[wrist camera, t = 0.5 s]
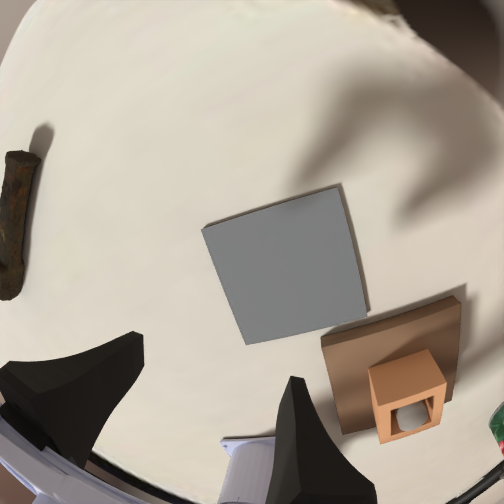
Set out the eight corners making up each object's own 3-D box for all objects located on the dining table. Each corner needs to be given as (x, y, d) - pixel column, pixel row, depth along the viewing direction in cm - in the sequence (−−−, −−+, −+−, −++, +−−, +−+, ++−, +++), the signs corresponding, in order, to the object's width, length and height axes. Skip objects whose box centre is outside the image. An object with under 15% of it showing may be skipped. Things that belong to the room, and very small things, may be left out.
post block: (446, 391, 21) (467, 433, 15) (341, 424, 24) (345, 473, 18) (452, 295, 19) (491, 334, 13) (320, 337, 22) (324, 392, 15)
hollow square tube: (425, 391, 20) (439, 424, 16) (372, 408, 21) (380, 444, 17) (427, 348, 19) (446, 382, 15) (368, 368, 20) (378, 406, 16)
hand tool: (28, 146, 21) (-3, 148, 17) (45, 158, 21) (12, 160, 17) (10, 281, 28) (-13, 293, 23) (25, 298, 27) (2, 312, 23)
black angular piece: (527, 460, 22) (503, 470, 22) (470, 505, 28) (437, 516, 28) (523, 452, 25) (499, 459, 25) (468, 497, 31) (434, 507, 31)
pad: (366, 313, 20) (367, 316, 20) (246, 342, 23) (245, 345, 22) (336, 187, 18) (337, 187, 18) (202, 228, 21) (200, 229, 20)
